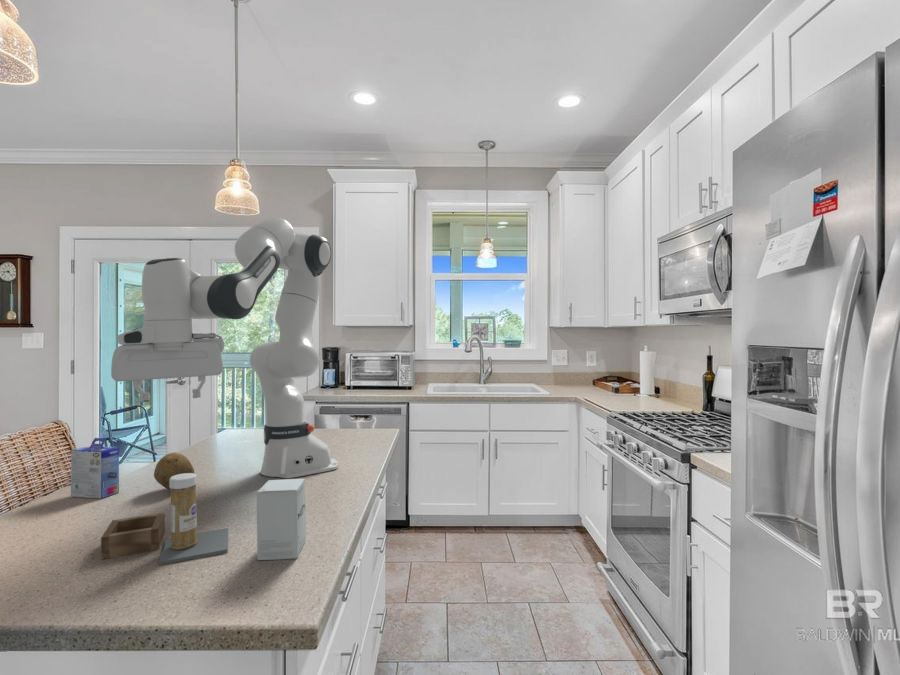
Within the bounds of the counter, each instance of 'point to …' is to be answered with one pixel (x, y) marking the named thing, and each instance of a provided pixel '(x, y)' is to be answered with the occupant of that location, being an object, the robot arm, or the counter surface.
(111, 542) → the walnut holder
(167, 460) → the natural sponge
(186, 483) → the sprinkles bottle
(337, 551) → the counter surface
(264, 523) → the supplement box
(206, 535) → the rubber mat
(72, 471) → the ink cartridge box
